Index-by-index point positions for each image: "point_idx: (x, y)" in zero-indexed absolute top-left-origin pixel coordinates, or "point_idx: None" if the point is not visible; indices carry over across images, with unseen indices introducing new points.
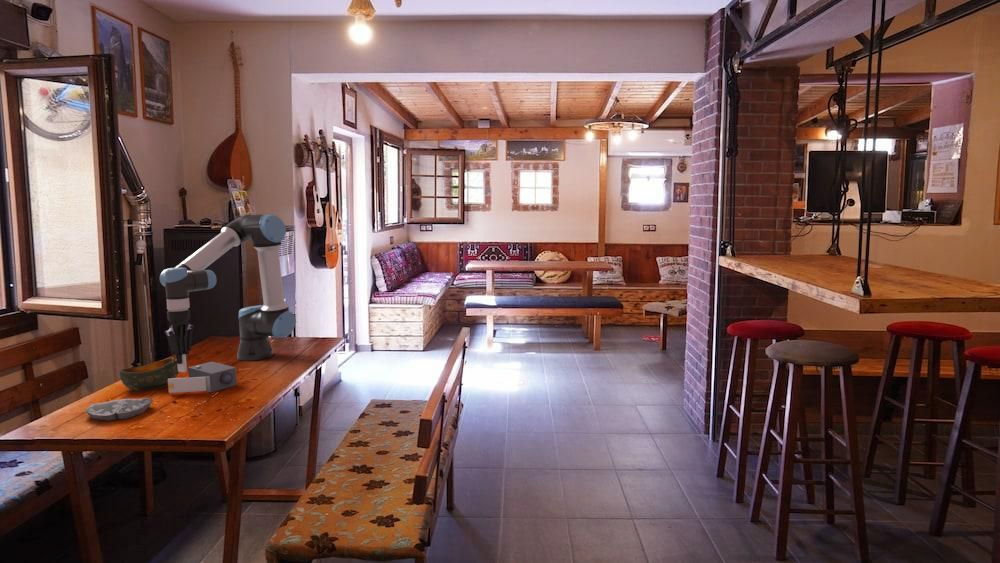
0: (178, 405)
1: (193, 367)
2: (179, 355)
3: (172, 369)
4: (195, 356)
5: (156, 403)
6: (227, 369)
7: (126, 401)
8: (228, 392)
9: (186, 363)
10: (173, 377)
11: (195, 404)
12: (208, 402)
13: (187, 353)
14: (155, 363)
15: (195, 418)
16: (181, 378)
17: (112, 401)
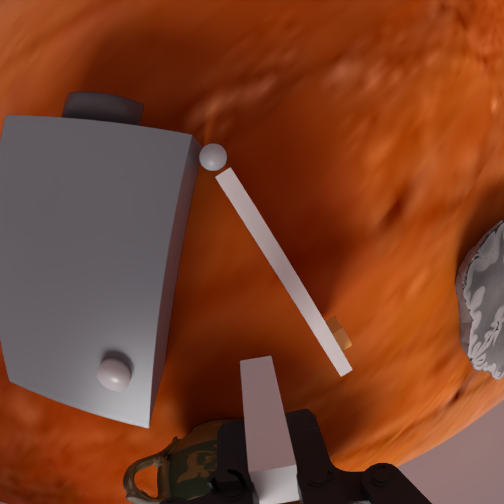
0: (423, 154)
1: (132, 401)
2: (333, 469)
3: (208, 465)
4: (17, 489)
5: (424, 271)
6: (52, 121)
7: (490, 324)
8: (180, 60)
9: (243, 402)
10: (202, 436)
11: (390, 85)
12: (347, 45)
13: (241, 470)
14: None
15: (468, 9)
16: (318, 313)
17: (486, 362)
